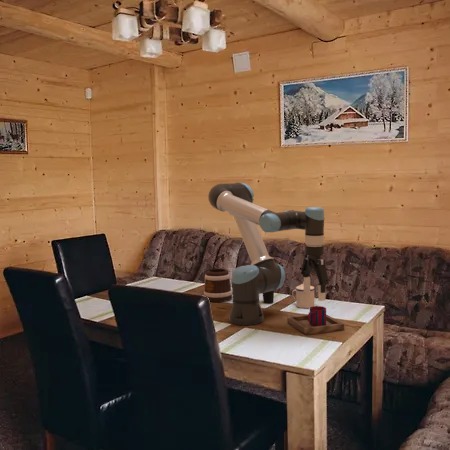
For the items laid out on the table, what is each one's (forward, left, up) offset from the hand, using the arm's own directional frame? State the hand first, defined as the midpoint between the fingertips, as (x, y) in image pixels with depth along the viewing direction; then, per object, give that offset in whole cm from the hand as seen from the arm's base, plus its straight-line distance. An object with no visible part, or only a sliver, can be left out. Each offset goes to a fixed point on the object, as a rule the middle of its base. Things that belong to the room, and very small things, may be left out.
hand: (314, 296), depth 205 cm
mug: (-25, +63, -13) cm, 69 cm away
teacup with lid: (+10, +32, -13) cm, 36 cm away
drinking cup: (-3, +44, -13) cm, 46 cm away
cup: (0, -1, -12) cm, 12 cm away
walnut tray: (0, 0, -13) cm, 13 cm away
